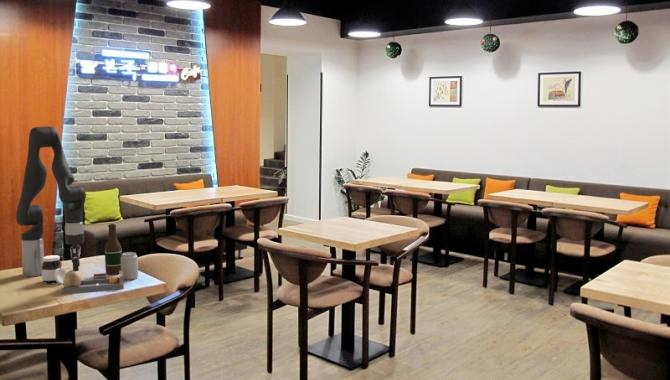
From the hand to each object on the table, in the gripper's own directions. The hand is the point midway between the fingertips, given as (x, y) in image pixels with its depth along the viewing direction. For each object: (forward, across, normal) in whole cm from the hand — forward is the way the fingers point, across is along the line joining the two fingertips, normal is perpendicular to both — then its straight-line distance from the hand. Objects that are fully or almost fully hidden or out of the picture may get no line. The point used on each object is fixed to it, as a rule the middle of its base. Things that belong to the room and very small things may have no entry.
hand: (76, 268), depth 274 cm
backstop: (+9, 0, +18) cm, 21 cm away
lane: (+9, 0, +6) cm, 11 cm away
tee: (+9, -10, +9) cm, 16 cm away
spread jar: (+9, -15, -10) cm, 20 cm away
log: (+9, 0, -2) cm, 9 cm away
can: (+9, -11, +22) cm, 26 cm away
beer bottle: (+9, -23, +15) cm, 29 cm away
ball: (+6, 0, +15) cm, 17 cm away
